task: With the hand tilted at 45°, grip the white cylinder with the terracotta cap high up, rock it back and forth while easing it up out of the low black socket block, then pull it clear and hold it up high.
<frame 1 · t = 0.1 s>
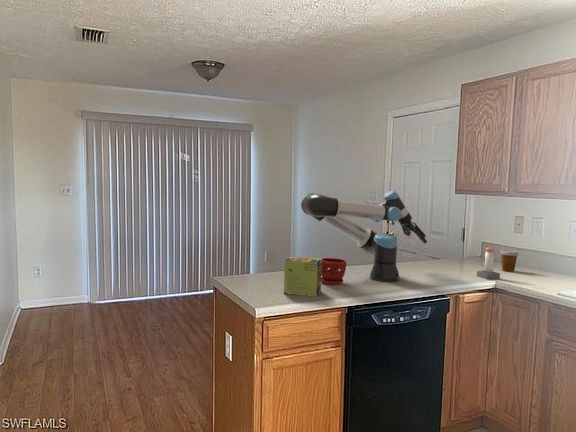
hand: (421, 245, 253), 15 cm above the worktop, tool tilted 35°, fingers open, 13 cm apart
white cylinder: (488, 277, 238), point 1 cm above the worktop, touching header
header: (488, 279, 238), on the worktop
plant pot: (332, 283, 222), on the worktop
protein box: (302, 293, 202), on the worktop
disposable coffee cup: (508, 271, 262), on the worktop
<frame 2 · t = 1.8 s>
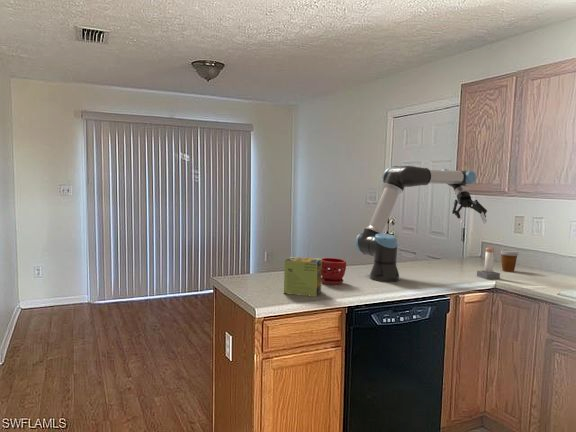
hand: (473, 222, 253), 29 cm above the worktop, tool tilted 45°, fingers open, 13 cm apart
nothing on the worktop moved.
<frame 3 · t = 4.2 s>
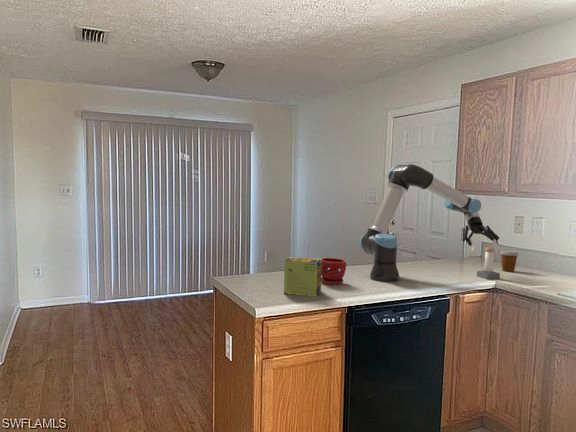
hand: (485, 250, 243), 15 cm above the worktop, tool tilted 45°, fingers open, 13 cm apart
nothing on the worktop moved.
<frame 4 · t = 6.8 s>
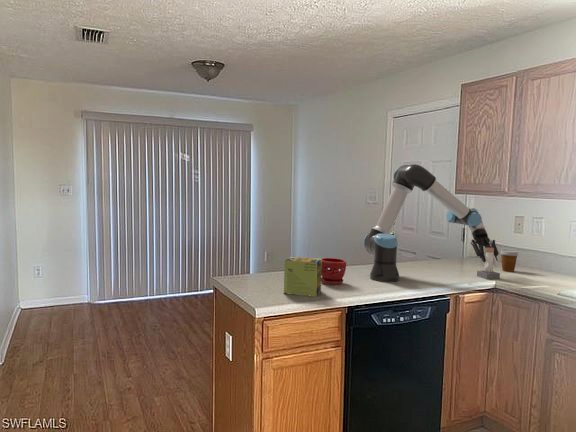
hand: (492, 266, 234), 8 cm above the worktop, tool tilted 45°, fingers closed on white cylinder, 4 cm apart
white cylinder: (488, 277, 238), point 1 cm above the worktop, touching gripper, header
everything else where it was.
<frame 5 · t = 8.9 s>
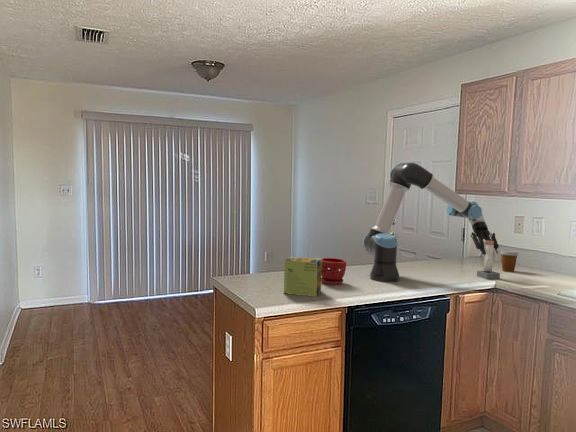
hand: (492, 259, 234), 12 cm above the worktop, tool tilted 45°, fingers closed on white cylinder, 4 cm apart
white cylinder: (488, 270, 238), point 5 cm above the worktop, touching gripper
everything else where it was.
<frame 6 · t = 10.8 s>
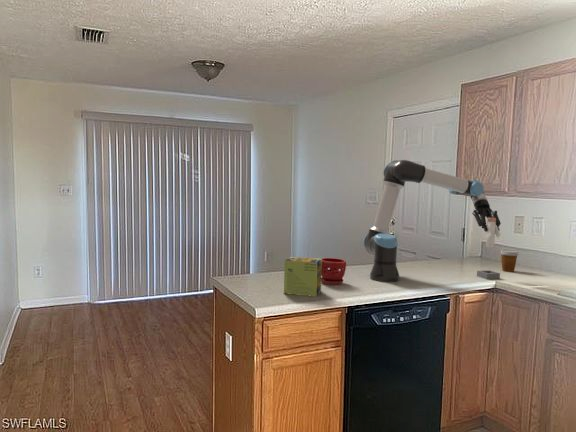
hand: (494, 235, 233), 24 cm above the worktop, tool tilted 45°, fingers closed on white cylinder, 4 cm apart
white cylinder: (489, 247, 237), point 17 cm above the worktop, touching gripper
everything else where it was.
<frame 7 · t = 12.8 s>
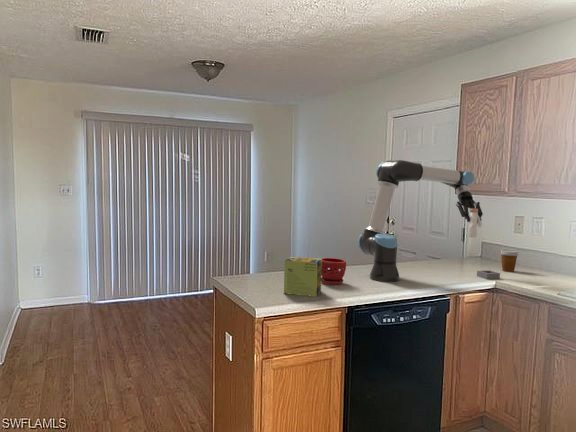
hand: (476, 225, 243), 28 cm above the worktop, tool tilted 45°, fingers closed on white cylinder, 4 cm apart
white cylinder: (472, 237, 248), point 21 cm above the worktop, touching gripper
everything else where it was.
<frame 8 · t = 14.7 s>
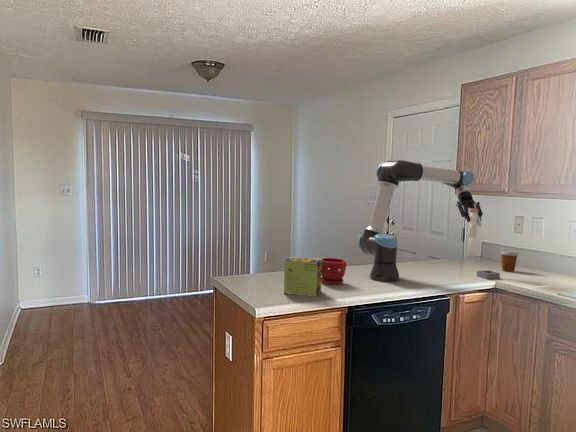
hand: (476, 225, 243), 28 cm above the worktop, tool tilted 45°, fingers closed on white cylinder, 4 cm apart
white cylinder: (472, 237, 248), point 21 cm above the worktop, touching gripper
everything else where it was.
at the end: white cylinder point 21.5 cm above the worktop; the gripper is holding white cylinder; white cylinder moved 23.8 cm from its start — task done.
